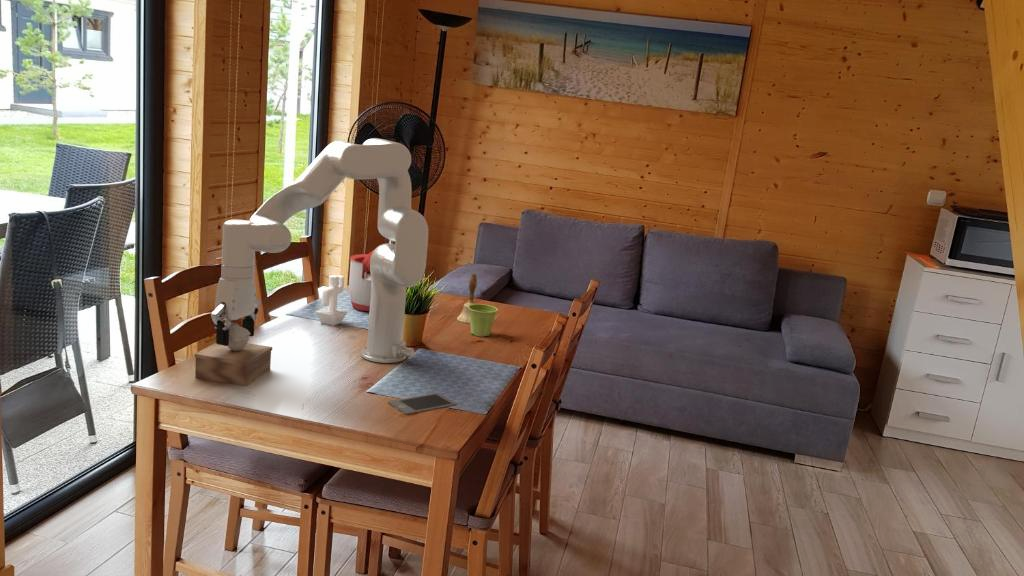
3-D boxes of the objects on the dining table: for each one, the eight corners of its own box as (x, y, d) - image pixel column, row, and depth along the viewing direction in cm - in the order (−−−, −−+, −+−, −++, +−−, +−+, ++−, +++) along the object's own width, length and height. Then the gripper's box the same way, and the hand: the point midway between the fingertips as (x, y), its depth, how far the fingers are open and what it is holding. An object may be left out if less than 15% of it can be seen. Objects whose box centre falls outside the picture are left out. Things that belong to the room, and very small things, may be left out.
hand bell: (454, 316, 277) (458, 270, 273) (477, 317, 279) (482, 271, 276) (459, 323, 269) (464, 276, 265) (484, 324, 272) (489, 277, 268)
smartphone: (437, 394, 204) (437, 392, 204) (457, 406, 198) (457, 403, 198) (386, 404, 194) (386, 401, 194) (405, 416, 188) (405, 413, 188)
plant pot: (494, 340, 255) (497, 313, 253) (464, 336, 255) (467, 309, 253) (495, 331, 264) (498, 306, 262) (466, 328, 264) (469, 302, 262)
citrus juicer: (343, 313, 265) (347, 253, 260) (348, 300, 282) (353, 243, 277) (391, 317, 267) (396, 257, 262) (394, 304, 283) (399, 247, 279)
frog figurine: (218, 347, 201) (219, 319, 199) (247, 346, 204) (248, 319, 203) (221, 355, 196) (222, 327, 194) (252, 353, 199) (253, 326, 197)
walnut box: (271, 369, 207) (272, 347, 206) (246, 386, 194) (247, 362, 193) (221, 361, 209) (222, 339, 207) (193, 377, 196) (194, 353, 194)
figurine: (312, 323, 250) (315, 276, 246) (329, 317, 258) (332, 271, 255) (332, 328, 247) (336, 280, 244) (349, 321, 256) (352, 275, 253)
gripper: (247, 263, 205) (244, 329, 209) (200, 274, 189) (198, 345, 192) (272, 268, 203) (269, 334, 206) (227, 280, 186) (225, 351, 190)
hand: (235, 339), depth 199 cm, fingers open, 9 cm apart
